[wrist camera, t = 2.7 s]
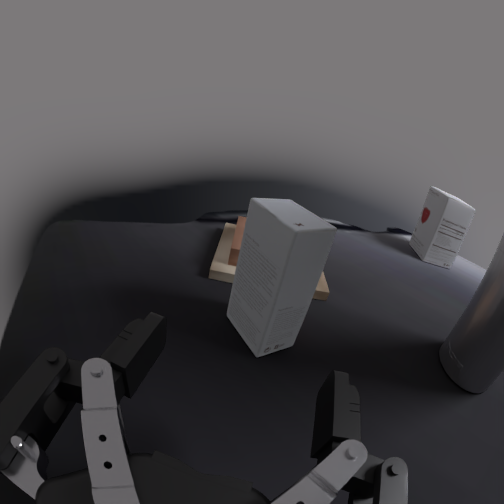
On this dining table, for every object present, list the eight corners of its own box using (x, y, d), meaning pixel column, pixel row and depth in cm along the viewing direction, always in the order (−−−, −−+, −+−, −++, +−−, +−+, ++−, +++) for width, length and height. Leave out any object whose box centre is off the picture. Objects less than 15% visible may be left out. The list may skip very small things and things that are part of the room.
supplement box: (407, 243, 60) (429, 184, 53) (434, 252, 60) (457, 196, 53) (421, 261, 52) (448, 195, 45) (450, 270, 52) (477, 209, 45)
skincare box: (294, 346, 25) (340, 229, 20) (255, 359, 23) (296, 231, 18) (260, 307, 30) (290, 197, 24) (224, 314, 27) (248, 196, 22)
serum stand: (311, 247, 45) (317, 228, 44) (326, 300, 33) (335, 277, 31) (224, 229, 45) (228, 209, 43) (208, 278, 32) (212, 252, 31)
